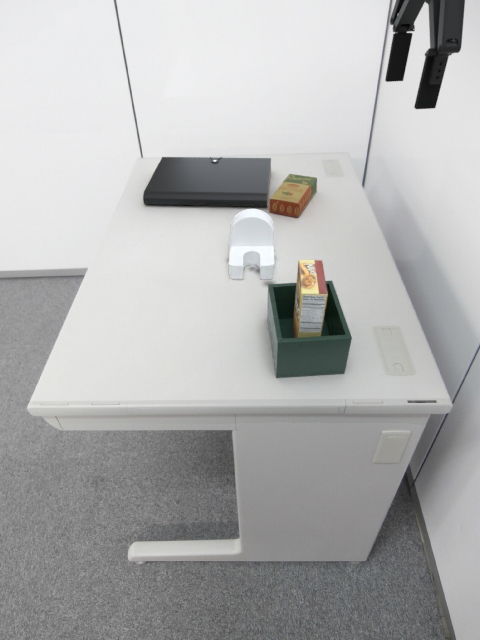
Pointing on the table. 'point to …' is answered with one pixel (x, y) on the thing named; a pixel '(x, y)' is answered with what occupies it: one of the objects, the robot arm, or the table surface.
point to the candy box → (309, 299)
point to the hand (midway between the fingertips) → (408, 93)
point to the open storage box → (306, 352)
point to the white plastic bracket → (251, 243)
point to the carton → (293, 195)
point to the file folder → (210, 182)
